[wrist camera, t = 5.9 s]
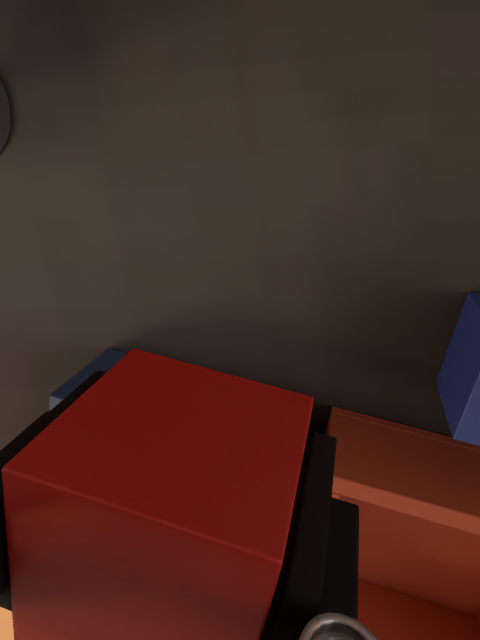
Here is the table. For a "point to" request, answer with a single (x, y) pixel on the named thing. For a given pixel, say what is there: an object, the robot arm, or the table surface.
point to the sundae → (4, 116)
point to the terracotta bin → (411, 526)
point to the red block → (155, 506)
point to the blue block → (463, 375)
